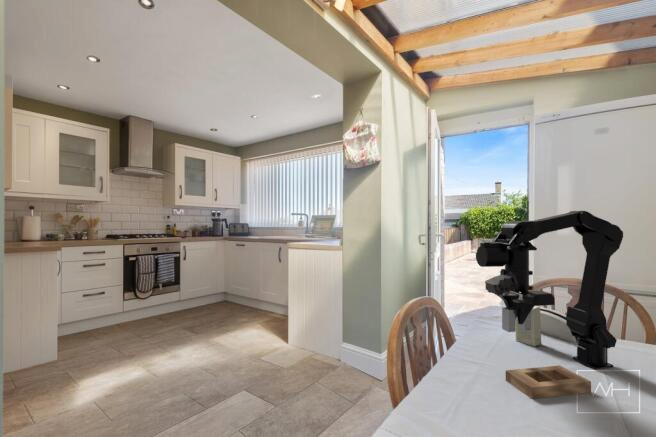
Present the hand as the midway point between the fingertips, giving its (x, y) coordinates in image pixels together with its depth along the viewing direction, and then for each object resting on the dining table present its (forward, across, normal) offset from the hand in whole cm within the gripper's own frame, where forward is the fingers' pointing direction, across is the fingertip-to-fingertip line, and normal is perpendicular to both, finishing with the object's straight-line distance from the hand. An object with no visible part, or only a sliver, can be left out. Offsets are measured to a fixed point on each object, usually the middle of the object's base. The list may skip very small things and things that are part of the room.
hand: (516, 322), depth 85 cm
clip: (+2, 0, 0) cm, 2 cm away
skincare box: (+12, -14, +16) cm, 24 cm away
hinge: (+12, -19, +30) cm, 38 cm away
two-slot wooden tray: (+12, +10, -1) cm, 16 cm away
